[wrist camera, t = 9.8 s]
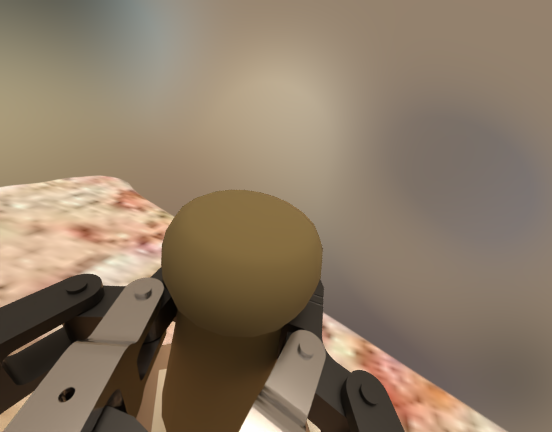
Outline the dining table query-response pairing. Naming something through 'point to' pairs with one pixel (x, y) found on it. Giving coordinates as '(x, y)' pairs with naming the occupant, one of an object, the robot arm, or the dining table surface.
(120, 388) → the robot arm
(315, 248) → the brown wooden pawn
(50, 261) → the dining table surface
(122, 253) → the dining table surface
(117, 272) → the dining table surface
